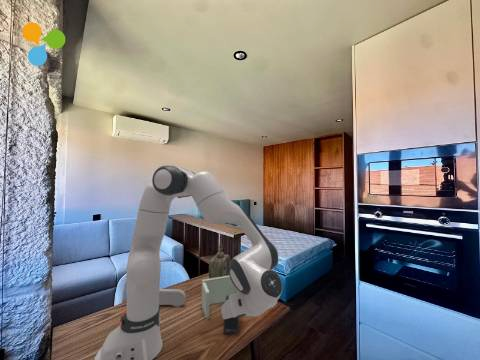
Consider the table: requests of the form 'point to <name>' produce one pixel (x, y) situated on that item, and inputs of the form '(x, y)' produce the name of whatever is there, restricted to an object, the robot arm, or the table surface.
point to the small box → (231, 324)
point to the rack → (216, 291)
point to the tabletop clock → (219, 265)
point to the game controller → (171, 297)
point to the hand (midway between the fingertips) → (244, 311)
